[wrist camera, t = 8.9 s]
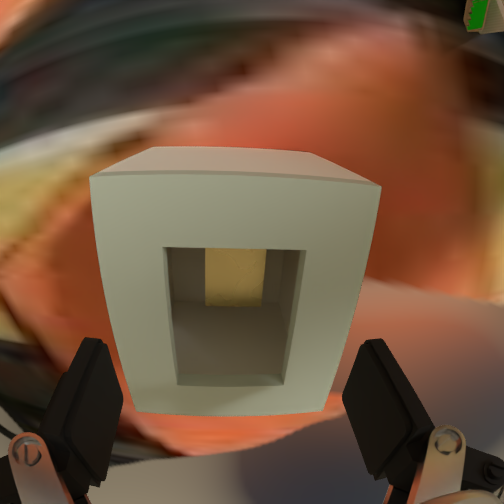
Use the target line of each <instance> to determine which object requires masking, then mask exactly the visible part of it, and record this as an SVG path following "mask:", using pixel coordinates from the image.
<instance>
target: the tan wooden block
mask: <svg viewBox="0 0 504 504" xmlns="http://www.w3.org/2000/svg"><path fill="white" fill-rule="evenodd" d="M266 251H267V249H236V248H205V306H228V307H261V302H262V292H263V282H264V272H265V262H266Z"/></svg>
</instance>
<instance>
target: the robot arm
mask: <svg viewBox="0 0 504 504" xmlns="http://www.w3.org/2000/svg"><path fill="white" fill-rule="evenodd" d="M342 401H343V404H344V407H345V409H346V412H347V415H348V417H349V420H350V423H351V426H352V428H353V431H354V434H355V437H356V439H357V442H358V445H359V448H360V450H361V453H362V456H363V459H364V462H365V465H366V468H367V470H368V473H369V474H371V475H373V476H374V479H375V480H379V479H383V478H386V477H387V479H388V482H389V484H390V485H389V488H388V491H387V494H386V496H385V499H384V502H383V504H504V461H503V460H501V459H500V458H498V457H496V456H493V455H490V454H487V453H484V452H481V451H479V450H476V449H473V448H470V447H468V446H466V440H465V438H464V435H463V434H462V433H461V431H459V430H458V429H457V428H455V427H453V426H450V425H442V426H439V427H437V428H435V426H434V425H433V423H432V421H431V419H430V417H429V416H428V414H427V412H426V410H425V409H424V407H423V405H422V403H421V401H420V400H419V398H418V396H417V394H416V393H415V391H414V389H413V387H412V386H411V384H410V382H409V381H408V379H407V377H406V376H405V374H404V373H403V371H402V369H401V368H400V366H399V364H398V363H397V361H396V360H395V358H394V357H393V355H392V353H391V351H390V350H389V348H388V346H387V345H386V343H385V342H384V340H383V339H381V338H380V339H370V340H366V341H365V342H364V344H362V345H361V346H360V348H359V351H358V354H357V357H356V359H355V362H354V365H353V368H352V370H351V373H350V376H349V378H348V381H347V383H346V386H345V389H344V391H343V394H342ZM122 405H123V394H122V391H121V388H120V385H119V382H118V379H117V376H116V373H115V369H114V366H113V363H112V360H111V356H110V353H109V349H108V346H107V344H104V343H103V342H102V340H101V339H97V338H88V337H85V338H84V339H83V341H82V343H81V345H80V347H79V349H78V351H77V353H76V355H75V357H74V359H73V361H72V363H71V365H70V367H69V370H68V372H65V373H63V375H62V376H61V378H60V380H59V383H58V385H57V387H56V389H55V391H54V394H53V396H52V398H51V400H50V403H49V405H48V407H47V410H46V412H45V414H44V417H43V419H42V422H41V424H40V427H39V429H38V432H37V434H34V433H29V432H27V433H21V434H19V435H17V436H16V437H14V438H13V439H12V441H11V442H10V444H9V448H8V455H6V456H4V457H2V458H0V504H92V503H91V502H90V500H89V498H88V496H87V494H86V493H88V490H89V485H91V486H96V487H100V483H101V481H105V479H106V476H107V471H108V466H109V461H110V456H111V452H112V447H113V442H114V438H115V434H116V429H117V425H118V421H119V417H120V413H121V409H122Z"/></svg>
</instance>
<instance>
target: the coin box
mask: <svg viewBox="0 0 504 504" xmlns="http://www.w3.org/2000/svg"><path fill="white" fill-rule="evenodd" d="M89 178H90V192H91V204H92V214H93V223H94V232H95V239H96V247H97V254H98V260H99V266H100V272H101V278H102V283H103V289H104V294H105V299H106V304H107V309H108V313H109V318H110V322H111V326H112V330H113V335H114V339H115V342H116V346H117V350H118V354H119V358H120V361H121V365H122V368H123V372H124V375H125V378H126V382H127V385H128V388H129V391H130V394H131V397H132V400H133V403H134V406H135V409H136V411H137V412H147V413H158V414H171V415H189V416H263V415H281V414H295V413H306V412H316V411H323V408H324V405H325V403H326V400H327V397H328V394H329V392H330V388H331V386H332V383H333V380H334V377H335V374H336V371H337V368H338V365H339V362H340V359H341V356H342V353H343V349H344V346H345V343H346V340H347V337H348V333H349V330H350V326H351V323H352V319H353V316H354V312H355V309H356V305H357V301H358V297H359V293H360V289H361V286H362V282H363V277H364V273H365V269H366V265H367V260H368V256H369V251H370V247H371V242H372V237H373V232H374V227H375V222H376V217H377V212H378V206H379V200H380V194H381V188H382V186H380V185H378V184H376V183H374V182H372V181H370V180H368V179H366V178H364V177H362V176H360V175H358V174H356V173H354V172H352V171H350V170H348V169H345V168H343V167H341V166H339V165H337V164H335V163H333V162H330V161H328V160H326V159H324V158H322V157H319V156H317V155H315V154H313V153H310V152H302V151H290V150H277V149H262V148H242V147H208V146H166V147H152V148H149V149H147V150H145V151H142V152H140V153H138V154H136V155H133V156H131V157H129V158H127V159H125V160H123V161H120V162H118V163H116V164H114V165H112V166H110V167H108V168H106V169H104V170H102V171H100V172H98V173H96V174H94V175H92V176H90V177H89ZM205 248H236V249H267V251H266V262H265V272H264V282H263V292H262V302H261V307H228V306H205Z"/></svg>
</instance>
